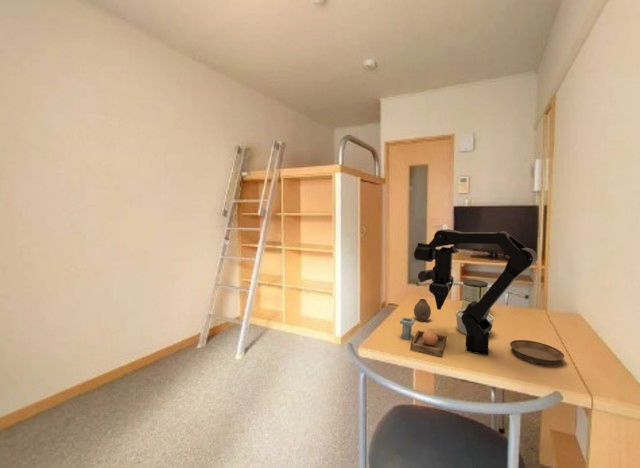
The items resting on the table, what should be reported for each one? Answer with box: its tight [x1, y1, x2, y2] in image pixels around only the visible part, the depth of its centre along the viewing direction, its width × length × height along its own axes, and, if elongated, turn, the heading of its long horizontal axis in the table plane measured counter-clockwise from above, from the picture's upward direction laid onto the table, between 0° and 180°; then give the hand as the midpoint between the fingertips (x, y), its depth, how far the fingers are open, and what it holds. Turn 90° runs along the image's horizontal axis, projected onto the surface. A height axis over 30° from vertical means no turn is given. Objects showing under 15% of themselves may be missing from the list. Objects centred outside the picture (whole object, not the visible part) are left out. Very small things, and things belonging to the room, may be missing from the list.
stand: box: [399, 316, 416, 340], centre depth 116 cm, size 5×5×6 cm
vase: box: [413, 298, 432, 322], centre depth 135 cm, size 7×7×9 cm
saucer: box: [509, 339, 565, 365], centre depth 104 cm, size 15×15×3 cm
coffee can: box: [461, 279, 489, 310], centre depth 146 cm, size 10×10×14 cm
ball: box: [423, 329, 438, 346], centre depth 109 cm, size 5×5×5 cm
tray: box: [409, 330, 448, 358], centre depth 110 cm, size 10×13×2 cm
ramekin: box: [455, 308, 494, 335], centre depth 123 cm, size 13×13×7 cm
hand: (440, 305), depth 116 cm, fingers open, 9 cm apart
